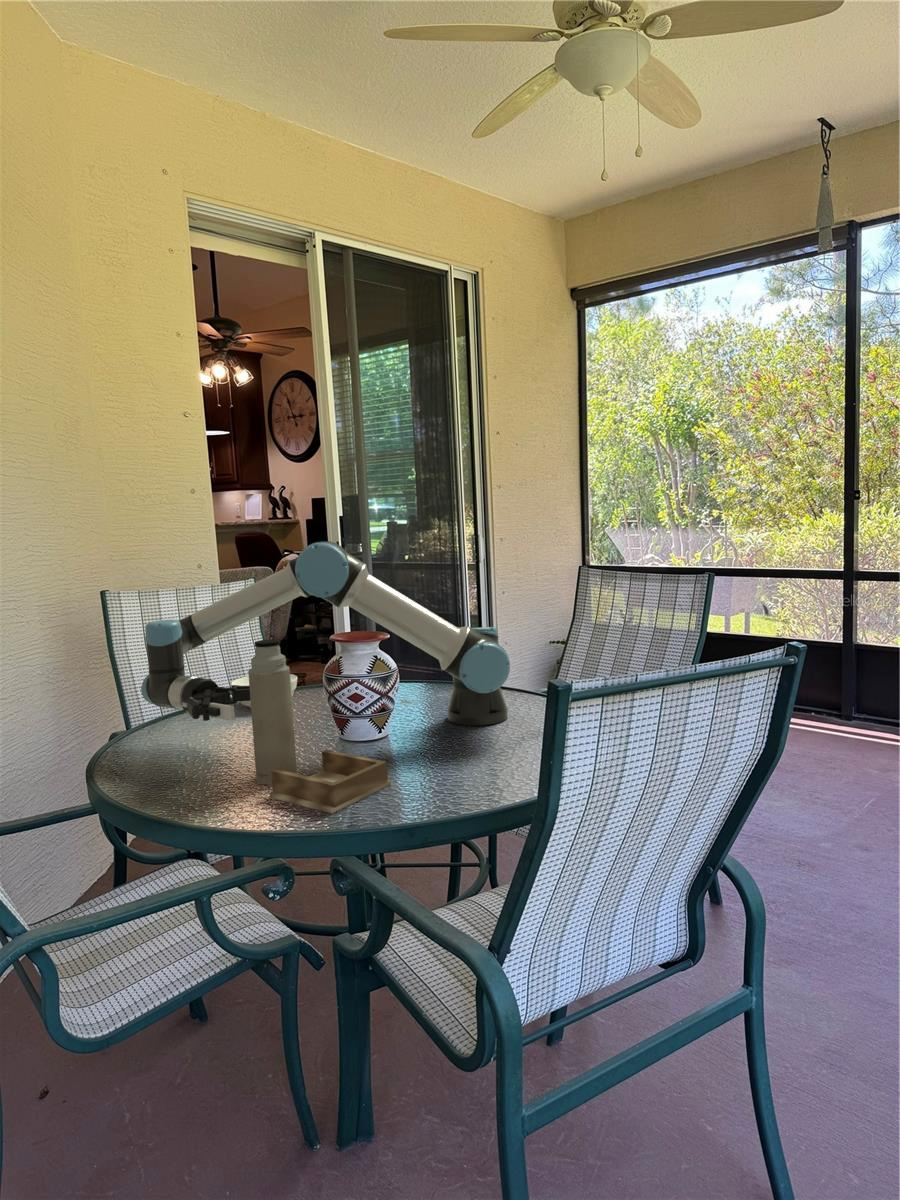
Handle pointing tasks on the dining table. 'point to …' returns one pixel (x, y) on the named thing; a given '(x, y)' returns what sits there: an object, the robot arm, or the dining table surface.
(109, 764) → the dining table surface
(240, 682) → the bowl
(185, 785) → the dining table surface
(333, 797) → the walnut cradle
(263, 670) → the thermos bottle
